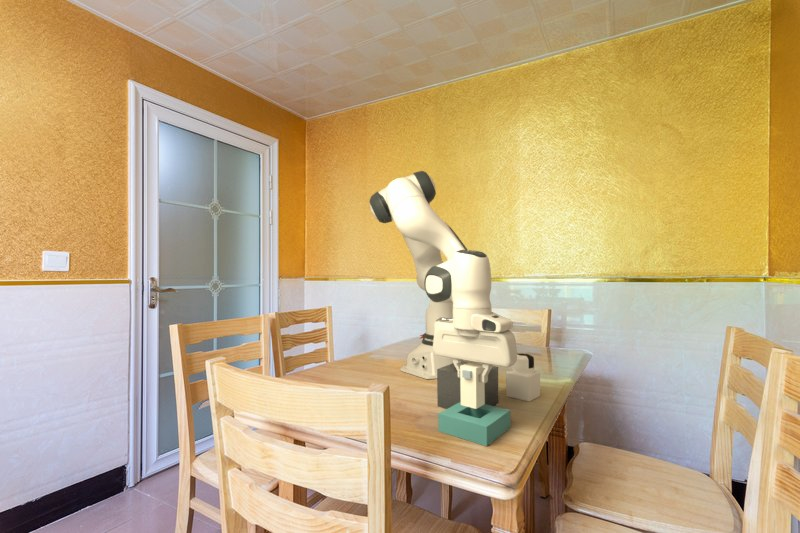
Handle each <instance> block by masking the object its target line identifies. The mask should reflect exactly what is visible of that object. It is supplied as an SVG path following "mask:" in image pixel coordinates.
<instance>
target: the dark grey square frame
mask: <svg viewBox="0 0 800 533" xmlns="http://www.w3.org/2000/svg"><path fill="white" fill-rule="evenodd" d="M469 362H470V363H472V361H466V360H463V362H461V364H462V365H464V364H466V363H469ZM475 363H476V364H478V362H475ZM480 364H481V365H483V363H480ZM492 366H493V367H492V369H491V370H490V372H489V374H488V381H487V382H486V383H485V404H486V405H490V406H495V407H497V405H499V403H500V402H499V400H500V399H499V366H496V365H492ZM484 369H485V368H484ZM436 382H437V384H436V387H437V388H436V389H437V391H436V392H437V407H438V408H439V407H440V408H442V409H445V410H446V409H448V408H450V407H452V406H453V405H455V404H457V403H459V402H461V384H460V378H458V370H457V369H456V367H455V365H454V363H452V364H450V365H447V366H444V367H442V368H439V369H437V378H436Z"/></svg>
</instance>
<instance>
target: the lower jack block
mask: <svg viewBox="0 0 800 533" xmlns="http://www.w3.org/2000/svg"><path fill="white" fill-rule="evenodd" d="M437 418H438V420H437V422H438V432H439V433H443V434H445V435H450V436H453V437H456V438H459V439H463V440H466V441H469V442H472V443H475V444H478V445H481V446H484V447H488V446H489V445H490V444H492V443H493V442H495V440H497V439H498V438H499V437H500V436H502V435H503V434H504V433H506V432H507V431H508V430H510V429H511V410H510V409H507V408H503V407H498V406H490V405H486V404H484V405H482V406H481V407H479V408H477V409H474V408H470V407H466V406H463V405H461V402H459V403H457V404H455V405H453V406H452V407H450V408H448V409H446V408H445V410H443V411H441V412H438V414H437Z"/></svg>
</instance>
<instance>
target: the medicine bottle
mask: <svg viewBox="0 0 800 533" xmlns="http://www.w3.org/2000/svg"><path fill="white" fill-rule="evenodd" d="M511 368H512V369H510V370H507V371H506V372H505V383H506V384H505V389H506V391H505V392H506V393H505V394H506V397H508V398H512V399H517V400H520V401H524V402H531V401H533V400H535V399H537V398H540V397H541V372H540V371H538V370H535V358H534V356H533V355H531V354H528V353H517V361H516V363H515V364H514V365H512V366H511Z"/></svg>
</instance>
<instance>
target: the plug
mask: <svg viewBox="0 0 800 533" xmlns="http://www.w3.org/2000/svg"><path fill="white" fill-rule="evenodd" d="M468 362H469V363H466V364H464V365H461V366H460V384H461V405H463V406H466V407H470V408H474V409H477V408H479V407H481V406H482V405H484V404H485V383H482V382H479V381H478V379H479V378H478V375H479V374H481V373H483V371H484V368H483V365H481V364H482V363H477V362H471V361H468ZM470 362H471V363H470ZM476 363H477V364H476Z"/></svg>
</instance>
